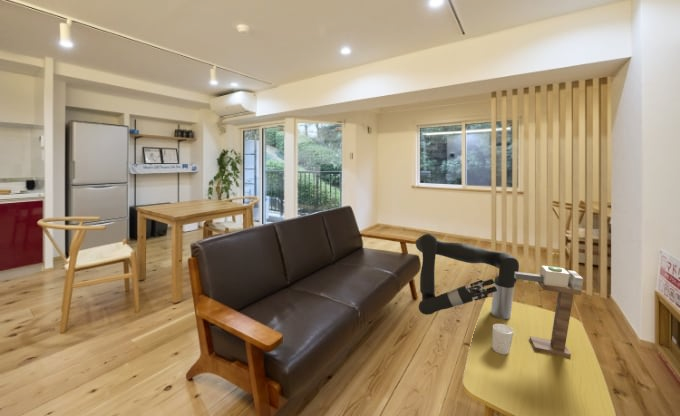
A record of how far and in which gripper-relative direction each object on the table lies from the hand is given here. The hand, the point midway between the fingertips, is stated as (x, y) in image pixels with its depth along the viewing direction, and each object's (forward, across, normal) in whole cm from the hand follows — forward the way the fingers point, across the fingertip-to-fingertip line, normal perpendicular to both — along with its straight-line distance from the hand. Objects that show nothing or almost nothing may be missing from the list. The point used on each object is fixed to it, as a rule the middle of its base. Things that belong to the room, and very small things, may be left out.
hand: (494, 284), depth 136 cm
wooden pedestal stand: (+8, 0, +34) cm, 35 cm away
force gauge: (+17, 0, +5) cm, 17 cm away
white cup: (-10, -9, +24) cm, 28 cm away
